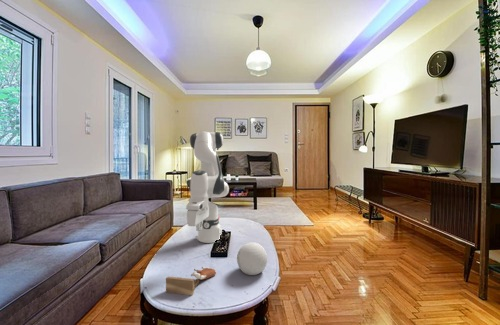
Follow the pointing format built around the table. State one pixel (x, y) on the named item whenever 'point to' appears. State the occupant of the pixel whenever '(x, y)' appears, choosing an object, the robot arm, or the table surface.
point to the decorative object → (252, 258)
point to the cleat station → (181, 285)
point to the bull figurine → (204, 273)
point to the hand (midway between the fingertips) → (199, 230)
